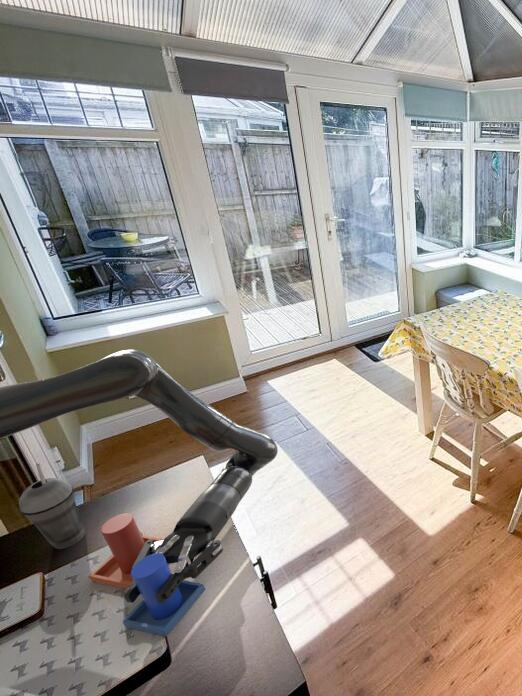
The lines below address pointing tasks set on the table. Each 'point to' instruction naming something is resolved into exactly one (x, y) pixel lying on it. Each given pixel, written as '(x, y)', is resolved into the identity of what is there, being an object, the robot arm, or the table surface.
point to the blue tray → (147, 623)
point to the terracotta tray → (115, 572)
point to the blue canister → (155, 585)
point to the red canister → (123, 540)
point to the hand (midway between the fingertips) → (144, 599)
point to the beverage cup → (53, 510)
